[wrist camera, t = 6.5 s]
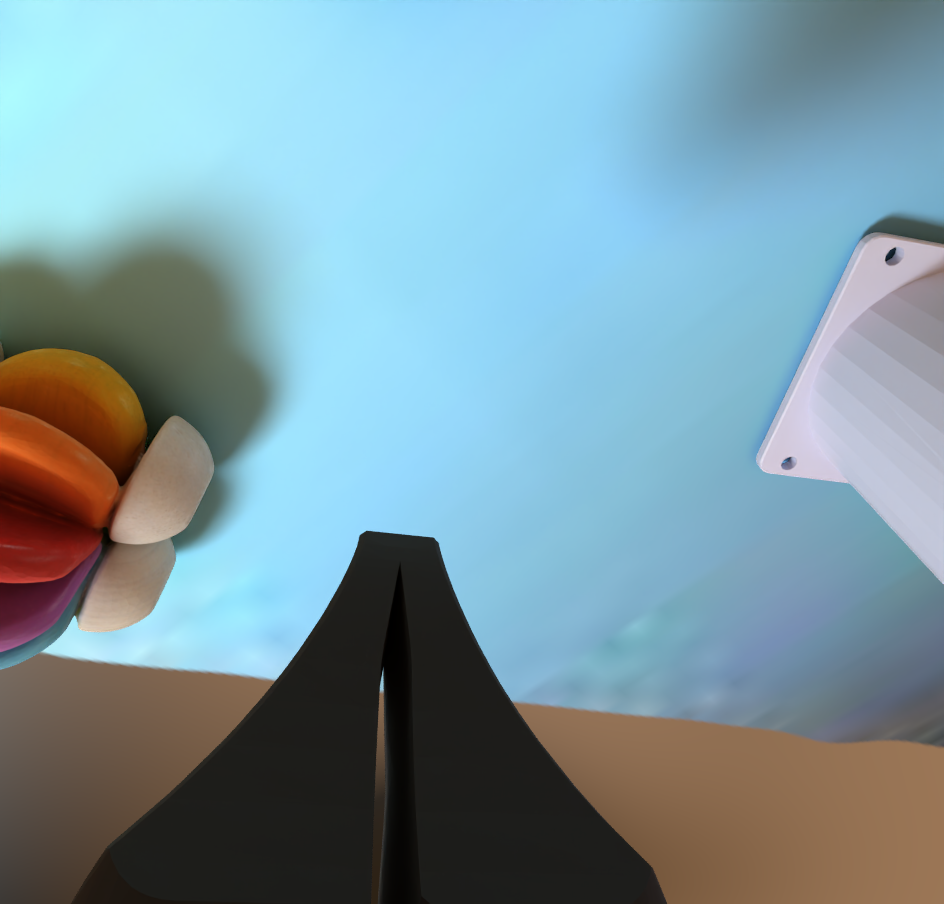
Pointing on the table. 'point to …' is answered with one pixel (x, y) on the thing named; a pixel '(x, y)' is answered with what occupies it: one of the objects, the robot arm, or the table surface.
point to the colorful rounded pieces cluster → (85, 499)
